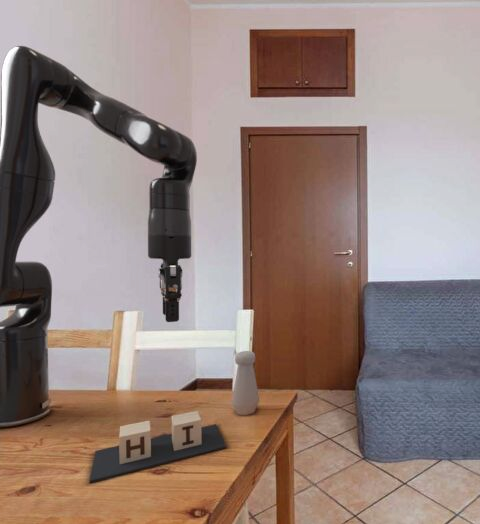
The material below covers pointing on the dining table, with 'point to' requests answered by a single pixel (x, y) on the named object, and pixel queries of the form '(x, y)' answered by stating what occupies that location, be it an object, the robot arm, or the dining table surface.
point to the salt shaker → (245, 384)
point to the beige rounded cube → (134, 442)
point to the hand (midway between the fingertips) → (170, 317)
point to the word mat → (153, 455)
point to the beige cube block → (186, 430)
